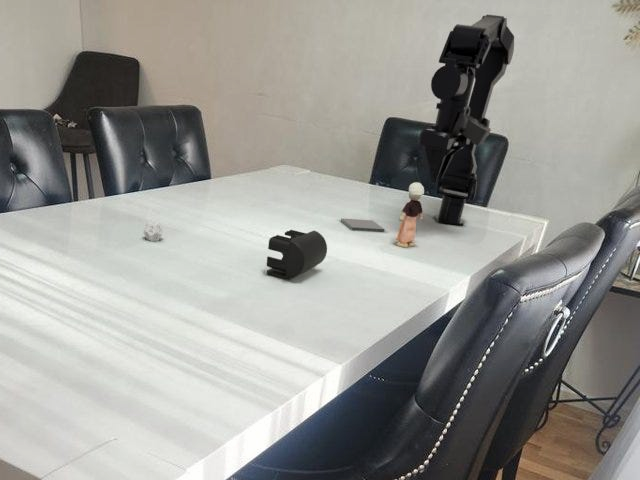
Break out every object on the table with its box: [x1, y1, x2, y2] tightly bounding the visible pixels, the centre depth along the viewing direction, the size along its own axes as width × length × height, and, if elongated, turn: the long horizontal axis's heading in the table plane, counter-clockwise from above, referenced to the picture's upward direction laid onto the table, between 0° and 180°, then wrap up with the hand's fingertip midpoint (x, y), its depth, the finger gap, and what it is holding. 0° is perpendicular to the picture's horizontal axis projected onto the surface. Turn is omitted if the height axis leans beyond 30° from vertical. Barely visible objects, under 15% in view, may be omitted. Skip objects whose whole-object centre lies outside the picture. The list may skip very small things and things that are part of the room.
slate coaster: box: [340, 218, 386, 233], centre depth 151 cm, size 8×8×1 cm
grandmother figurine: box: [395, 181, 425, 248], centre depth 137 cm, size 8×4×13 cm, turn 144°
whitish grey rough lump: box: [143, 221, 164, 242], centre depth 122 cm, size 4×4×3 cm
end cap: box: [266, 229, 328, 281], centre depth 113 cm, size 10×7×7 cm
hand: (436, 180), depth 142 cm, fingers open, 4 cm apart
